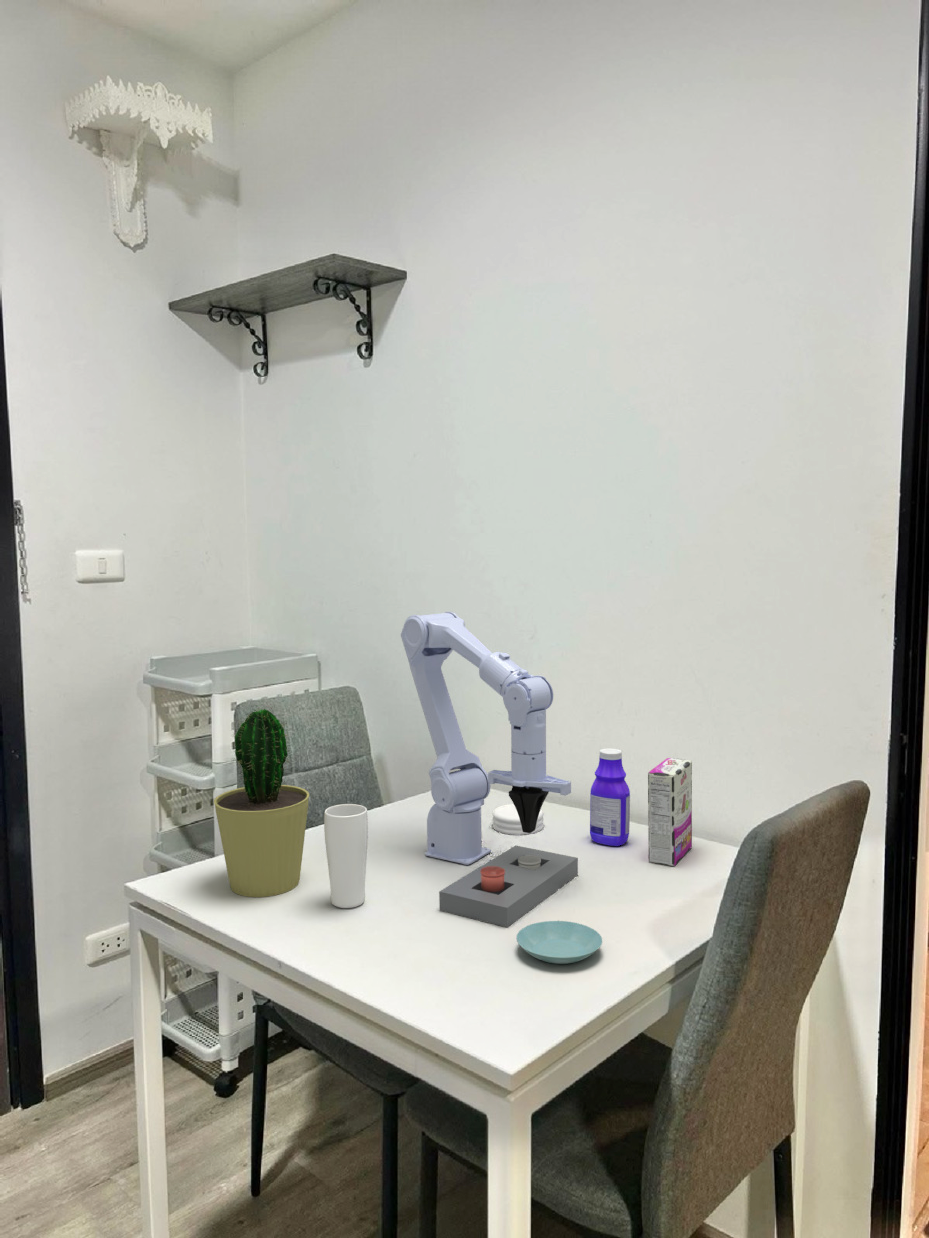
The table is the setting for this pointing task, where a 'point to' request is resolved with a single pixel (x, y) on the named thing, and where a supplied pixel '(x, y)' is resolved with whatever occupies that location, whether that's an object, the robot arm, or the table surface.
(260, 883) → the potted cactus
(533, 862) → the sample container
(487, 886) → the red button
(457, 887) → the console
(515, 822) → the white ridged round container
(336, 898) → the drinking glass
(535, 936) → the saucer
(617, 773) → the bottle
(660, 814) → the candy bar box
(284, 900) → the table surface
